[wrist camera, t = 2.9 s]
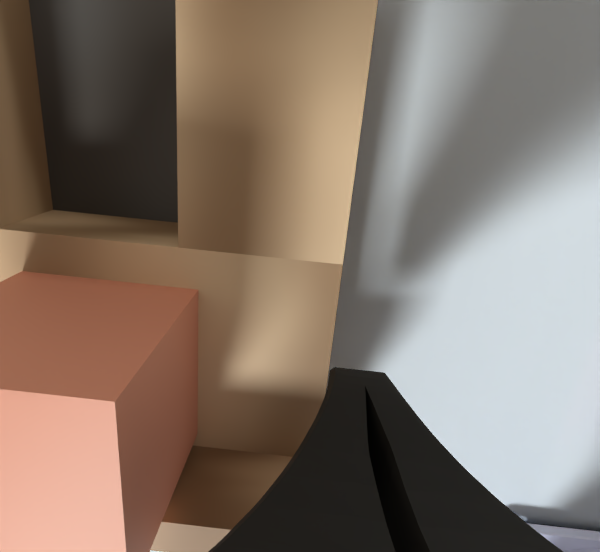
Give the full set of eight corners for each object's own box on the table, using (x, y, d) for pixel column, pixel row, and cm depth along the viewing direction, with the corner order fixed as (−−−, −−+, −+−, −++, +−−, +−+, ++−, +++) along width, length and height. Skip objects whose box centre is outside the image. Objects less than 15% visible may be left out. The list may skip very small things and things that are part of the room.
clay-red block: (198, 289, 11) (115, 401, 6) (197, 433, 12) (130, 599, 8) (22, 271, 11) (-175, 369, 6) (44, 416, 12) (-103, 571, 8)
